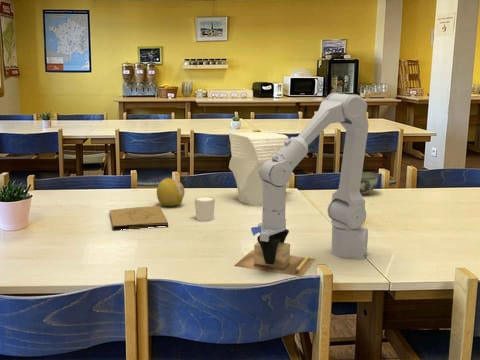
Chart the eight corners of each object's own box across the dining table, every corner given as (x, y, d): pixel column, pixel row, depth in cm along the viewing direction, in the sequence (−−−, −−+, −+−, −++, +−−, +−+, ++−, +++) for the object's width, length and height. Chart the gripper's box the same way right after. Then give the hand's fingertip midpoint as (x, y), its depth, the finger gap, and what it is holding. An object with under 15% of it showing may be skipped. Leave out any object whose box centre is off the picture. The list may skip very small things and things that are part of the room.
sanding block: (289, 264, 140) (290, 243, 139) (284, 270, 136) (284, 249, 135) (260, 259, 143) (260, 239, 142) (254, 265, 139) (254, 244, 138)
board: (315, 263, 144) (316, 259, 144) (302, 281, 132) (302, 276, 132) (251, 254, 151) (252, 250, 151) (233, 270, 139) (233, 265, 139)
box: (109, 214, 191) (109, 208, 190) (160, 211, 195) (159, 205, 195) (112, 232, 171) (112, 225, 170) (168, 228, 175) (168, 222, 175)
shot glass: (219, 218, 185) (219, 198, 183) (204, 223, 180) (204, 202, 178) (205, 214, 189) (205, 195, 188) (190, 218, 185) (190, 198, 183)
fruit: (167, 210, 194) (167, 183, 192) (151, 204, 202) (150, 178, 200) (191, 206, 201) (190, 179, 199) (174, 200, 209) (173, 174, 207)
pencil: (306, 258, 144) (307, 255, 144) (309, 258, 144) (309, 256, 144) (294, 273, 134) (294, 270, 134) (297, 273, 134) (297, 270, 134)
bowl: (352, 188, 231) (353, 169, 230) (382, 192, 224) (384, 173, 222) (338, 194, 220) (338, 175, 219) (369, 199, 213) (370, 179, 211)
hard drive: (283, 238, 161) (276, 226, 173) (256, 239, 161) (251, 226, 173) (283, 243, 162) (276, 231, 174) (256, 244, 161) (251, 231, 173)
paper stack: (224, 197, 215) (224, 131, 209) (288, 192, 223) (290, 129, 217) (240, 210, 195) (241, 139, 190) (310, 205, 203) (312, 136, 198)
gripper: (268, 200, 144) (267, 249, 147) (248, 214, 131) (247, 267, 134) (294, 203, 142) (292, 253, 144) (276, 217, 129) (275, 271, 131)
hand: (272, 260), depth 139 cm, fingers closed on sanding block, 4 cm apart
